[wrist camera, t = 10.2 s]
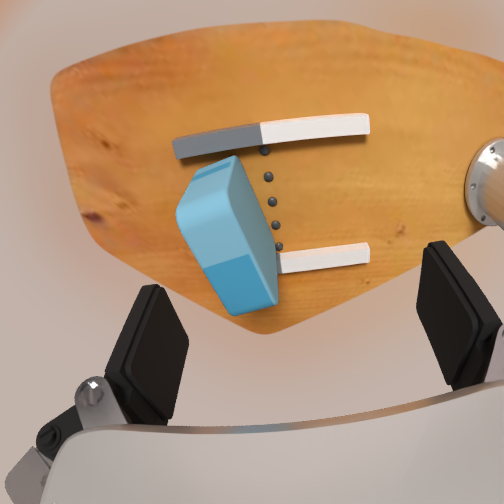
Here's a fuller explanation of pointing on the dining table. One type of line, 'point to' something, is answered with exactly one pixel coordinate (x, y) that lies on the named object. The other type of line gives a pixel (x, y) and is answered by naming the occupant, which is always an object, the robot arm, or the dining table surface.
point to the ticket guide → (267, 135)
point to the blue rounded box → (230, 236)
